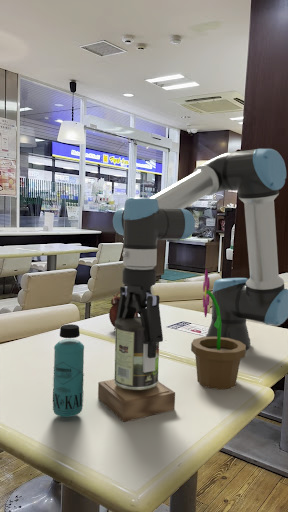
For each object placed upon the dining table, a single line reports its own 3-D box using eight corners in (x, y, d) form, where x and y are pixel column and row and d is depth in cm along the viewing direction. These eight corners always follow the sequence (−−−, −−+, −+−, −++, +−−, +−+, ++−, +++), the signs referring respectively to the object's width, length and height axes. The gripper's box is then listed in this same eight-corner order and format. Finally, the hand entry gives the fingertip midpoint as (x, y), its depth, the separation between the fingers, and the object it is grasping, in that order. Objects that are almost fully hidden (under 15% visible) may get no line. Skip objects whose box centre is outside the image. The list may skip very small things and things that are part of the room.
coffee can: (161, 375, 102) (163, 317, 100) (154, 392, 92) (156, 329, 90) (120, 371, 104) (121, 314, 102) (108, 387, 94) (109, 325, 92)
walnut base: (145, 388, 107) (145, 372, 107) (174, 409, 96) (175, 391, 96) (98, 398, 100) (98, 381, 100) (123, 422, 89) (124, 403, 89)
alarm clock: (138, 332, 158) (139, 292, 157) (131, 335, 154) (132, 294, 153) (115, 327, 164) (115, 289, 163) (107, 330, 160) (108, 290, 159)
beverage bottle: (54, 410, 94) (55, 321, 92) (84, 409, 94) (86, 321, 93) (50, 424, 87) (51, 329, 86) (82, 424, 88) (84, 329, 86)
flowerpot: (187, 370, 120) (192, 265, 118) (238, 372, 120) (244, 267, 117) (192, 391, 106) (197, 272, 103) (249, 394, 106) (256, 274, 103)
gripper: (102, 262, 103) (101, 351, 105) (151, 274, 84) (148, 383, 86) (130, 261, 107) (127, 347, 109) (182, 273, 87) (178, 377, 90)
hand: (136, 363), depth 97 cm, fingers closed on coffee can, 10 cm apart
